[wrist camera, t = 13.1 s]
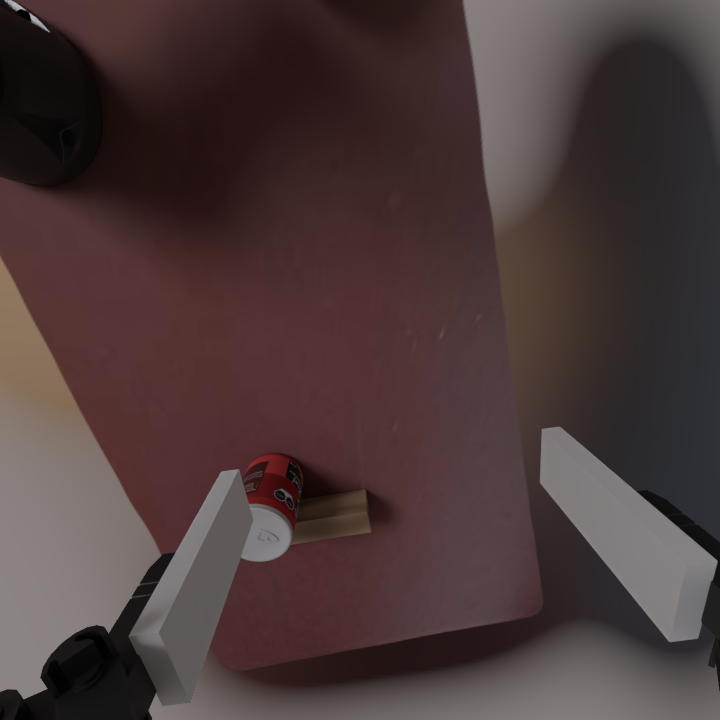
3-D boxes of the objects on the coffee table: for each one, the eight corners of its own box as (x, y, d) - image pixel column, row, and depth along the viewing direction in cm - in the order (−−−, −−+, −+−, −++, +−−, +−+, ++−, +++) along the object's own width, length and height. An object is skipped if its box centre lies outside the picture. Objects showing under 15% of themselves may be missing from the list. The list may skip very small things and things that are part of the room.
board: (204, 515, 51) (190, 539, 46) (365, 488, 50) (367, 511, 46) (211, 533, 52) (198, 559, 47) (369, 508, 51) (371, 532, 47)
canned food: (301, 499, 50) (289, 565, 40) (246, 493, 50) (218, 559, 39) (307, 454, 48) (295, 511, 38) (249, 447, 47) (220, 504, 37)
